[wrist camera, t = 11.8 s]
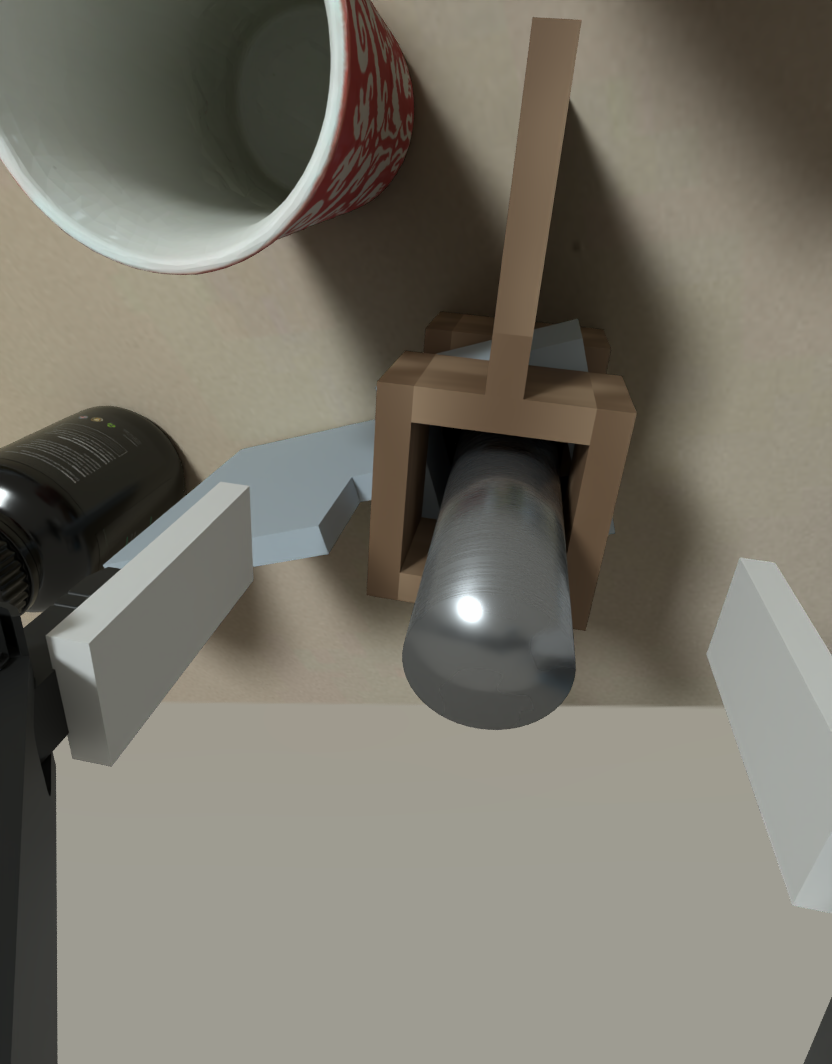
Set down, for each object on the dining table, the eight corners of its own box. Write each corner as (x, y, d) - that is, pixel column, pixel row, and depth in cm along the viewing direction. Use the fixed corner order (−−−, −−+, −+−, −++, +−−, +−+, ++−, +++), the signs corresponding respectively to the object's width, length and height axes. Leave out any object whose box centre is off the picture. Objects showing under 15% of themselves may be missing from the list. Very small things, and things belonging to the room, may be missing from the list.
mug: (458, 218, 27) (386, 239, 15) (251, 258, 29) (44, 303, 17) (400, -210, 22) (219, -702, 10) (152, -124, 24) (-246, -441, 12)
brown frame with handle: (649, 100, 24) (728, 28, 13) (572, 480, 31) (585, 630, 20) (460, 87, 25) (395, 9, 14) (427, 460, 32) (366, 595, 21)
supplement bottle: (39, 436, 35) (-182, 543, 24) (134, 379, 32) (-66, 469, 22) (120, 544, 37) (-50, 684, 26) (214, 497, 35) (68, 631, 24)
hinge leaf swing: (574, 302, 27) (589, 368, 17) (600, 457, 30) (627, 594, 20) (218, 392, 32) (62, 487, 22) (269, 520, 34) (151, 658, 24)
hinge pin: (559, 363, 29) (591, 608, 13) (545, 442, 30) (559, 741, 15) (475, 354, 29) (407, 581, 13) (466, 433, 31) (397, 715, 15)
